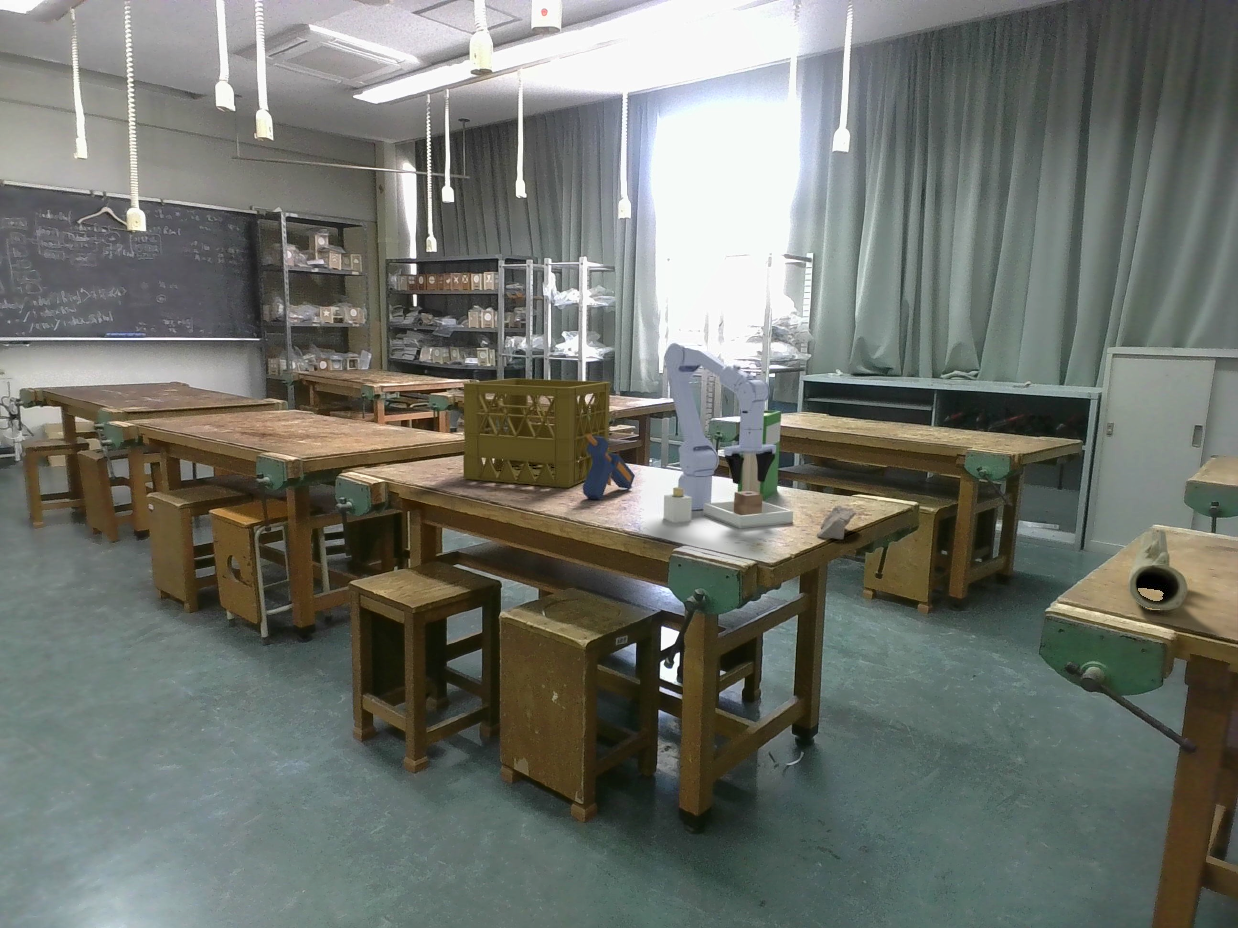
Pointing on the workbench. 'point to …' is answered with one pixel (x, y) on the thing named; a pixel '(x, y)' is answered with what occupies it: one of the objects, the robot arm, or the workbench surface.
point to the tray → (766, 518)
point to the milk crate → (533, 430)
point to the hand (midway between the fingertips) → (748, 482)
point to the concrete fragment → (836, 523)
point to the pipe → (1156, 574)
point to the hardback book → (750, 462)
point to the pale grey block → (677, 506)
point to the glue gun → (604, 469)
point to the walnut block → (747, 503)
